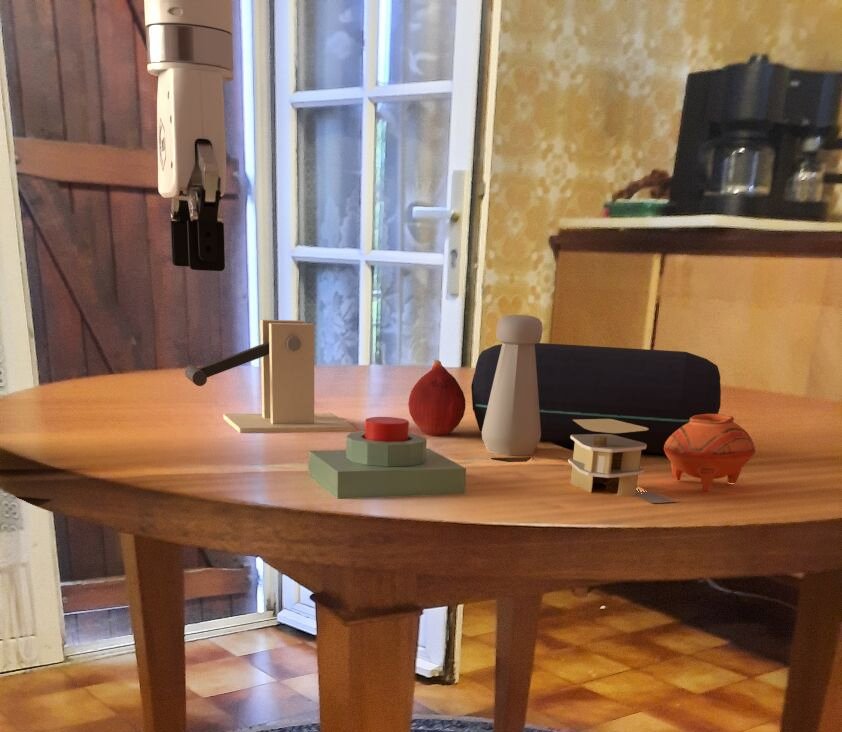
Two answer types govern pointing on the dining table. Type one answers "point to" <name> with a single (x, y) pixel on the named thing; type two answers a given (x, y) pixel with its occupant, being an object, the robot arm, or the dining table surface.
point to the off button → (386, 429)
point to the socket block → (385, 469)
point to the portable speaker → (610, 390)
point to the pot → (709, 449)
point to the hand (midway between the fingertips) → (197, 268)
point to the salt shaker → (514, 391)
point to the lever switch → (225, 364)
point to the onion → (437, 402)
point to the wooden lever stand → (287, 384)
